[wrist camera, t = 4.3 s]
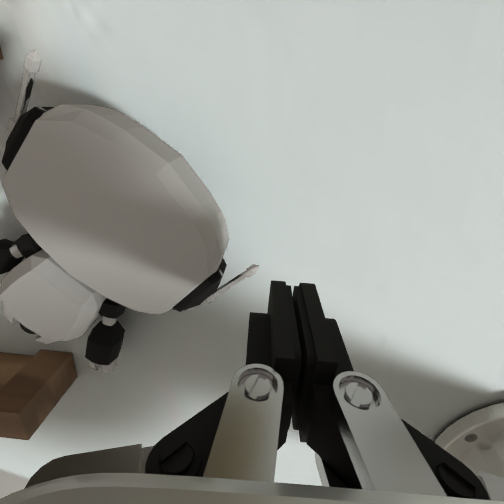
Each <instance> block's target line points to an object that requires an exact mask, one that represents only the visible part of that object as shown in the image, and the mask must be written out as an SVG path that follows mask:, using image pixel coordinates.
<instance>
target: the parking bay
mask: <svg viewBox="0 0 504 504" xmlns="http://www.w3.org/2000/svg"><path fill="white" fill-rule="evenodd" d="M0 59H1V60H3V57H2V53H1V48H0ZM76 378H77V373H76V369H75V364H74V360H73V356H72V353H67V352H57V351H47V350H40V351H39V352H38V353H37V354H36V355H35V356H29V355H19V354H9V353H0V437H5V438H14V439H23V440H29V439H30V438H31V436H32V435H33V434H34V432H35V431H36V430H37V429H38V427H39V426H40V425H41V423H42V422H43V421H44V419H45V418H46V417H47V416H48V414H49V413H50V412H51V410H52V409H53V408H54V406H55V405H56V404H57V403H58V401H59V400H60V399H61V397H62V396H63V395H64V393H65V392H66V391H67V390H68V388H69V387H70V386H71V384H72V383H73V382H74V381H75V379H76Z"/></svg>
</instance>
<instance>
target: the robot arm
mask: <svg viewBox="0 0 504 504" xmlns="http://www.w3.org/2000/svg"><path fill="white" fill-rule="evenodd" d="M291 416H292V422H293V429H294V430H299V435H300V442H307V444H308V445H309V446H310V447H311V448H312V449H313V450H314V451H315V460H316V465H317V469H318V472H319V476H320V479H321V483H322V486H313V485H301V484H288V483H275V482H274V475H275V466H276V456H277V450H278V449H279V448H280V447H281V446H282V445H283V444H284V443H285V442H286V437H287V432H288V429H289V427H290V421H291ZM0 504H504V402H502V403H498V404H494V405H490V406H487V407H485V408H482V409H479V410H477V411H474V412H472V413H470V414H468V415H466V416H464V417H462V418H460V419H459V420H457V421H456V422H454V423H453V424H452V425H450V426H449V427H447V428H446V429H445V430H444V431H443V432H442V433H441V434H440V435H439V436H438V438H437V439H436V441H435V442H433V441H432V440H430V439H429V438H427V437H426V436H425V435H423V434H422V433H420V432H419V431H418V430H416V429H415V428H413V427H412V426H411V425H409V424H408V423H406V422H405V421H404V420H402V419H401V418H400V417H399V415H398V414H397V412H396V410H395V409H394V407H393V405H392V404H391V402H390V400H389V399H388V397H387V395H386V394H385V392H384V390H383V389H382V388H381V386H380V385H379V384H378V383H377V382H376V381H374V380H373V379H372V378H370V377H369V376H367V375H365V374H362V373H359V372H354V371H353V368H352V365H351V362H350V359H349V356H348V353H347V351H346V348H345V345H344V342H343V339H342V336H341V333H340V331H339V328H338V325H337V322H336V320H335V319H328V318H325V316H324V313H323V309H322V306H321V303H320V299H319V296H318V293H317V289H316V286H315V284H309V283H300V284H299V286H294V290H293V297H292V291H291V286H288V285H286V282H284V281H271V286H270V295H269V304H268V313H267V314H265V313H252V312H250V317H249V329H248V342H247V356H246V366H244V367H242V368H240V369H239V370H238V371H237V372H236V373H235V375H234V377H233V380H232V383H231V386H230V390H229V392H227V393H226V394H225V395H223V396H222V397H220V398H219V399H217V400H216V401H215V402H213V403H212V404H210V405H209V406H208V407H206V408H205V409H203V410H202V411H200V412H199V413H198V414H196V415H195V416H193V417H192V418H190V419H189V420H188V421H186V422H185V423H183V424H182V425H181V426H179V427H178V428H176V429H175V430H173V431H172V432H171V433H169V434H168V435H166V436H165V437H163V438H162V439H161V440H160V441H159V442H158V443H157V444H156V445H155V446H151V447H145V448H142V444H137V445H131V446H124V447H118V448H112V449H106V450H99V451H93V452H87V453H80V454H74V455H68V456H63V457H60V458H57V459H54V460H52V461H50V462H49V463H47V464H45V465H44V466H42V467H41V468H40V469H39V470H38V471H37V472H36V473H35V474H34V475H33V476H32V477H31V478H30V480H29V482H28V483H27V485H26V487H25V488H24V489H22V490H20V491H17V492H14V493H12V494H10V495H8V496H5V497H3V498H1V499H0Z"/></svg>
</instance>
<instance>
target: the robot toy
mask: <svg viewBox="0 0 504 504" xmlns="http://www.w3.org/2000/svg"><path fill="white" fill-rule="evenodd" d="M40 64H41V59H40V57H39V55H38V52H37V50H36V49H35V50H34V51H32V52H31V53H29V54H28V55H26V58H25V62H24V67H25V73H24V77H23V82H22V86H21V91H20V95H19V99H18V104H17V108H16V113H15V117H13V118H9V123H8V128H7V129H8V130H10V131H11V134H10V136H9V137H8V139H7V142H6V148H5V152H4V156H3V159H2V163H3V165H4V167H5V168H6V170H7V173H6V174H5V176H4V178H3V180H2V185H3V188H4V190H5V193H6V196H7V198H8V201H9V203H10V206H11V209H12V211H13V214H14V215H15V217H16V218H17V219H18V221H19V222H20V223H21V225H22V226H23V227H24V228H25V229H26V231H27V232H28V233H27V234H24V235H22V236H21V237H20V238H19V239H18V240H17V241H15V242H13V241H10V240H7V239H2V240H0V274H3V273H6V272H9V271H10V272H9V273H8V274H7V275H6V276H5V277H4V278H3V279H2V280H1V287H0V299H1V300H2V302H3V304H4V306H3V314H4V316H5V317H6V318H7V319H8V321H9V322H10V323H11V324H12V325H13V324H14V323H15V322H17V321H18V322H20V326H21V328H22V329H23V330H24V331H25V332H27V333H30V334H38V335H39V336H37V337H36V338H35V339H34V340H36V341H39V342H42V343H45V344H50V343H54V342H57V341H60V340H61V341H71V340H74V339H77V338H79V337H81V336H82V335H83V334H84V333H85V331H86V330H87V329H88V328H89V327H90V326H91V325H92V324H93V323H94V322H95V320H96V319H97V318H98V317H99V316H100V315H101V316H103V319H102V321H100V322H99V323H98V324H97V325H96V326H95V327H94V328H93V329H92V331H91V333H90V335H89V337H88V341H87V348H86V355H85V357H86V358H87V359H88V363H89V367H91V368H93V369H95V370H98V368H99V367H102V371H101V372H104V373H109V372H111V371H112V370H113V369H114V367H115V366H116V358H117V357H118V355H119V352H120V349H121V346H122V341H123V337H124V332H125V330H124V328H123V327H122V325H121V324H120V323H119V321H118V320H117V318H118V317H119V316H120V315H122V314H123V313H124V310H125V308H126V307H127V308H130V309H132V310H135V311H139V312H144V313H149V314H163V313H165V312H167V311H169V310H171V309H174V310H177V311H179V312H181V311H183V310H186V309H188V308H191V307H194V306H198V305H200V304H201V303H202V302H203V301H204V300H206V301H207V302H208V303H210V302H212V301H213V300H215V299H216V297H217V295H218V294H220V293H222V292H223V291H225V290H227V289H228V288H230V287H231V286H233V285H235V284H236V283H238V282H239V281H241V280H243V279H244V278H246V277H250V276H251V275H253V274H255V272H256V270H257V269H258V267H259V265H252V266H250V267H249V268H247V269H246V271H245V272H243V273H241V274H240V275H238V276H237V277H235V278H234V279H232V280H231V281H229V282H227V283H226V284H224V285H223V286H221V287H220V288H218V286H219V284H220V281H221V279H222V276H223V274H224V271H225V268H226V263H225V261H224V259H223V256H224V253H225V250H226V247H227V244H228V241H229V236H228V231H227V226H226V221H225V218H224V216H223V214H222V212H221V210H220V208H219V206H218V205H217V203H216V201H215V199H214V198H213V196H212V194H211V193H210V191H209V190H208V189H207V187H206V186H205V185H204V183H203V182H202V181H201V179H200V178H199V177H198V175H197V174H196V173H195V171H194V170H193V169H192V167H191V166H190V165H189V163H188V162H187V161H186V159H185V158H184V157H183V156H182V155H181V154H180V153H178V152H177V151H176V150H175V149H173V148H172V147H171V146H169V145H168V144H167V143H165V142H164V141H163V140H161V139H160V138H159V137H157V136H156V135H155V134H154V133H152V132H151V131H150V130H148V129H147V128H146V127H144V126H142V125H141V124H139V123H137V122H136V121H134V120H132V119H131V118H129V117H127V116H126V115H124V114H122V113H120V112H118V111H115V110H113V109H110V108H105V107H100V106H95V105H90V104H60V105H58V106H56V107H34V108H32V109H31V110H29V111H28V112H26V110H27V106H28V102H29V98H30V94H31V90H32V86H33V82H34V79H35V75H36V72H37V71H39V68H40ZM24 257H25V258H26V259H25V260H24V261H22V260H23V258H24ZM217 288H218V289H217Z"/></svg>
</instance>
